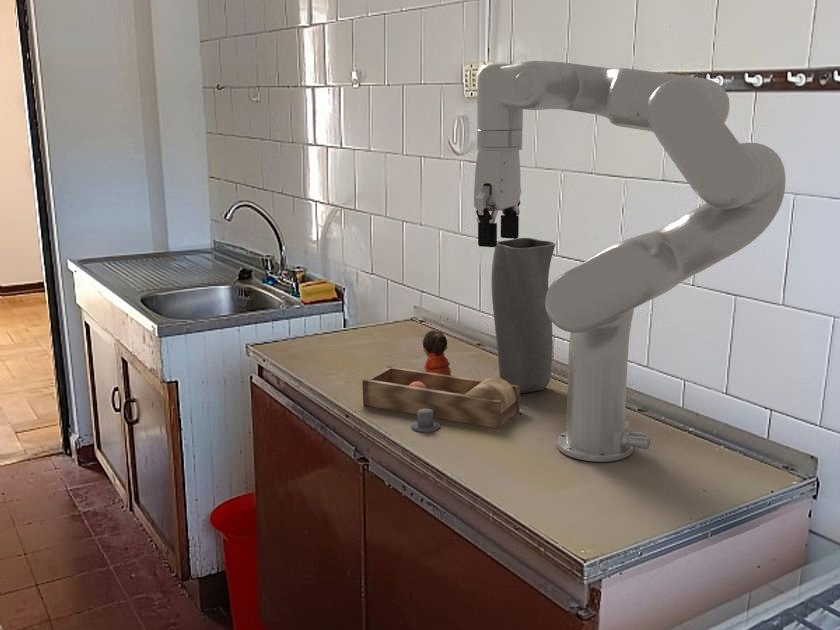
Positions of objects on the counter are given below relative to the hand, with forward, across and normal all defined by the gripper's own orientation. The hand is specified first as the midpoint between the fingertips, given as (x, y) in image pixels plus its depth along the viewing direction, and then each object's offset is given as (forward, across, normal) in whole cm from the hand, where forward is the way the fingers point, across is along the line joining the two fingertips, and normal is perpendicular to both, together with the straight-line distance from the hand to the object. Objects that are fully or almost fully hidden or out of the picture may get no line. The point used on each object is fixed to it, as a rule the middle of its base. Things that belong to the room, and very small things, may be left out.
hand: (498, 242), depth 148 cm
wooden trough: (+35, -3, -13) cm, 37 cm away
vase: (+34, -20, -3) cm, 39 cm away
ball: (+31, -3, -18) cm, 36 cm away
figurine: (+34, -14, -19) cm, 41 cm away
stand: (+33, +7, -11) cm, 36 cm away
